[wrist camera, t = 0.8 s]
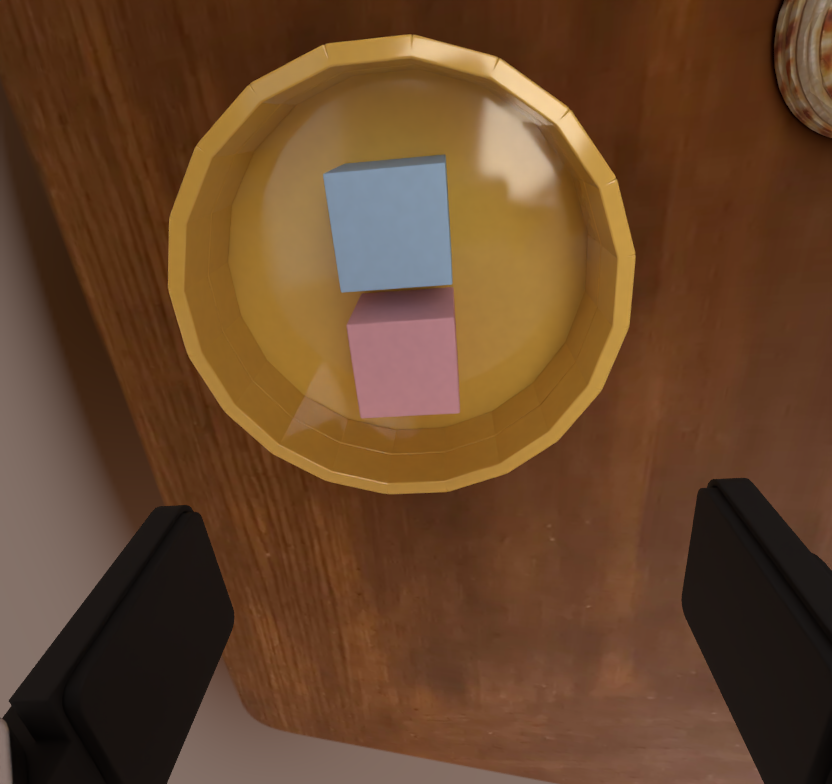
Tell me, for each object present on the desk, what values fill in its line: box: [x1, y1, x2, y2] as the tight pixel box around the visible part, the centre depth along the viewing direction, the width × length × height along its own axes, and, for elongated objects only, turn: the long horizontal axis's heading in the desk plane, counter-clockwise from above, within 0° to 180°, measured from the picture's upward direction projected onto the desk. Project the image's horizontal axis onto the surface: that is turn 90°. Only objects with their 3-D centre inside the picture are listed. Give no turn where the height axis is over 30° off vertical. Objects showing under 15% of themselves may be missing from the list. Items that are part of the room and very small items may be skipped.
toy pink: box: [346, 287, 460, 418], centre depth 23 cm, size 4×4×4 cm
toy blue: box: [323, 154, 452, 293], centre depth 20 cm, size 4×4×4 cm
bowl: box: [168, 34, 636, 494], centre depth 22 cm, size 16×16×5 cm
